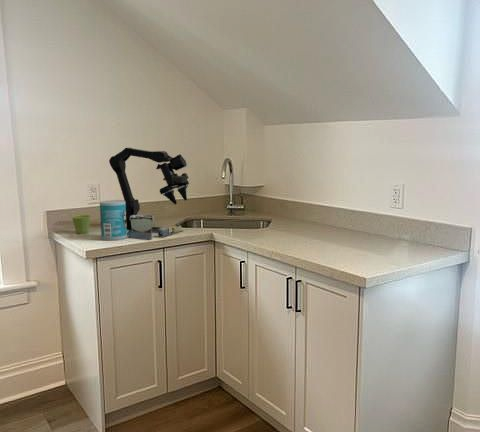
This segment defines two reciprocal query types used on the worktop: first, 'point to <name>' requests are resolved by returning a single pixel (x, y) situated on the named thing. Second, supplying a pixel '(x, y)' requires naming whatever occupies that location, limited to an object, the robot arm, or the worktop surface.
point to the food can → (113, 220)
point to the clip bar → (176, 229)
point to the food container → (142, 223)
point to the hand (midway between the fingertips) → (181, 202)
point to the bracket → (144, 235)
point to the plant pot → (81, 223)
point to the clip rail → (165, 232)
